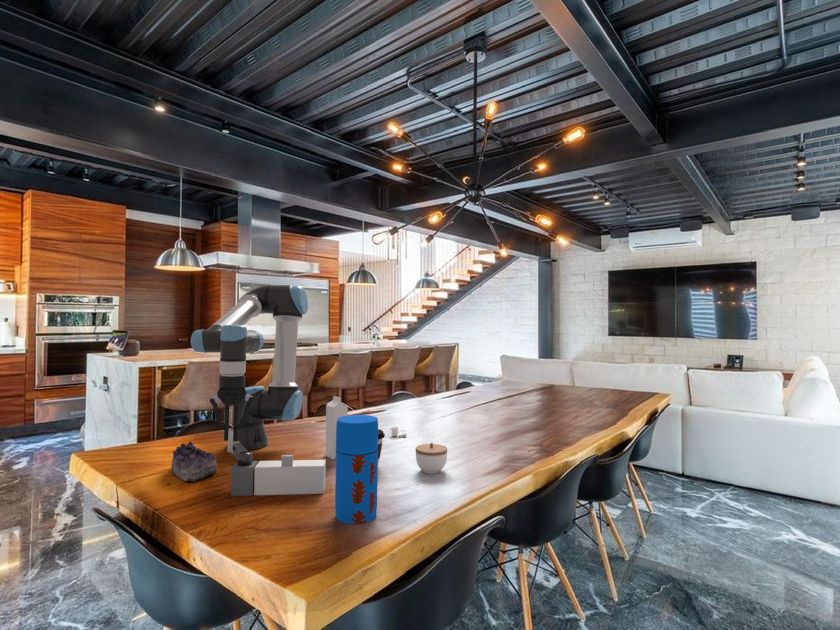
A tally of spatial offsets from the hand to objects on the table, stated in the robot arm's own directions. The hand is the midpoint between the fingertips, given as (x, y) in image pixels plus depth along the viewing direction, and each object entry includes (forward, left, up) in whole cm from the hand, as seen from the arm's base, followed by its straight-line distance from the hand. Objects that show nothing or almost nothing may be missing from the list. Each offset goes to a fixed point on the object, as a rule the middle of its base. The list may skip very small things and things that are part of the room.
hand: (230, 450), depth 144 cm
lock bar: (+3, +4, -1) cm, 5 cm away
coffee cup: (-12, +43, -10) cm, 46 cm away
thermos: (+28, +40, -10) cm, 49 cm away
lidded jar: (-6, +64, -10) cm, 65 cm away
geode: (-9, -15, -10) cm, 20 cm away
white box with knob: (+9, +17, -10) cm, 21 cm away
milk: (-25, +31, -10) cm, 41 cm away
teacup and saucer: (-51, +55, -10) cm, 76 cm away
